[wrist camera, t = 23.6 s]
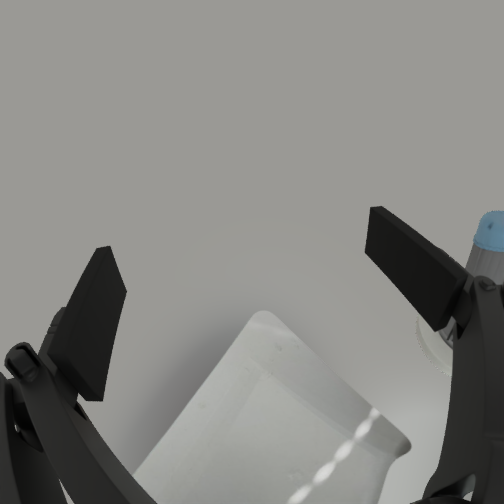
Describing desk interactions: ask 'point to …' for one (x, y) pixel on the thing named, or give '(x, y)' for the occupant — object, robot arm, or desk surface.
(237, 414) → the desk surface
